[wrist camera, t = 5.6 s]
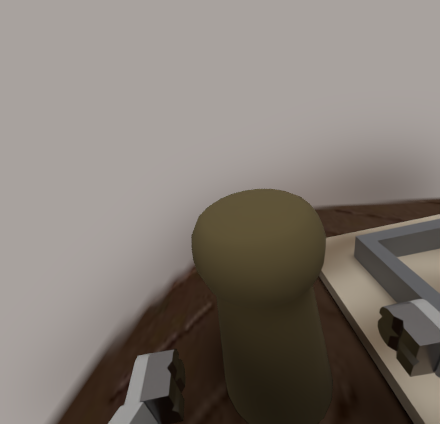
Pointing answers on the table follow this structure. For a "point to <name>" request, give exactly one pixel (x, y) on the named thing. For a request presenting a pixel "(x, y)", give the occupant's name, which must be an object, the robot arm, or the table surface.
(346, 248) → the board
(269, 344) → the olive pawn
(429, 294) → the frame
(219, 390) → the table surface
